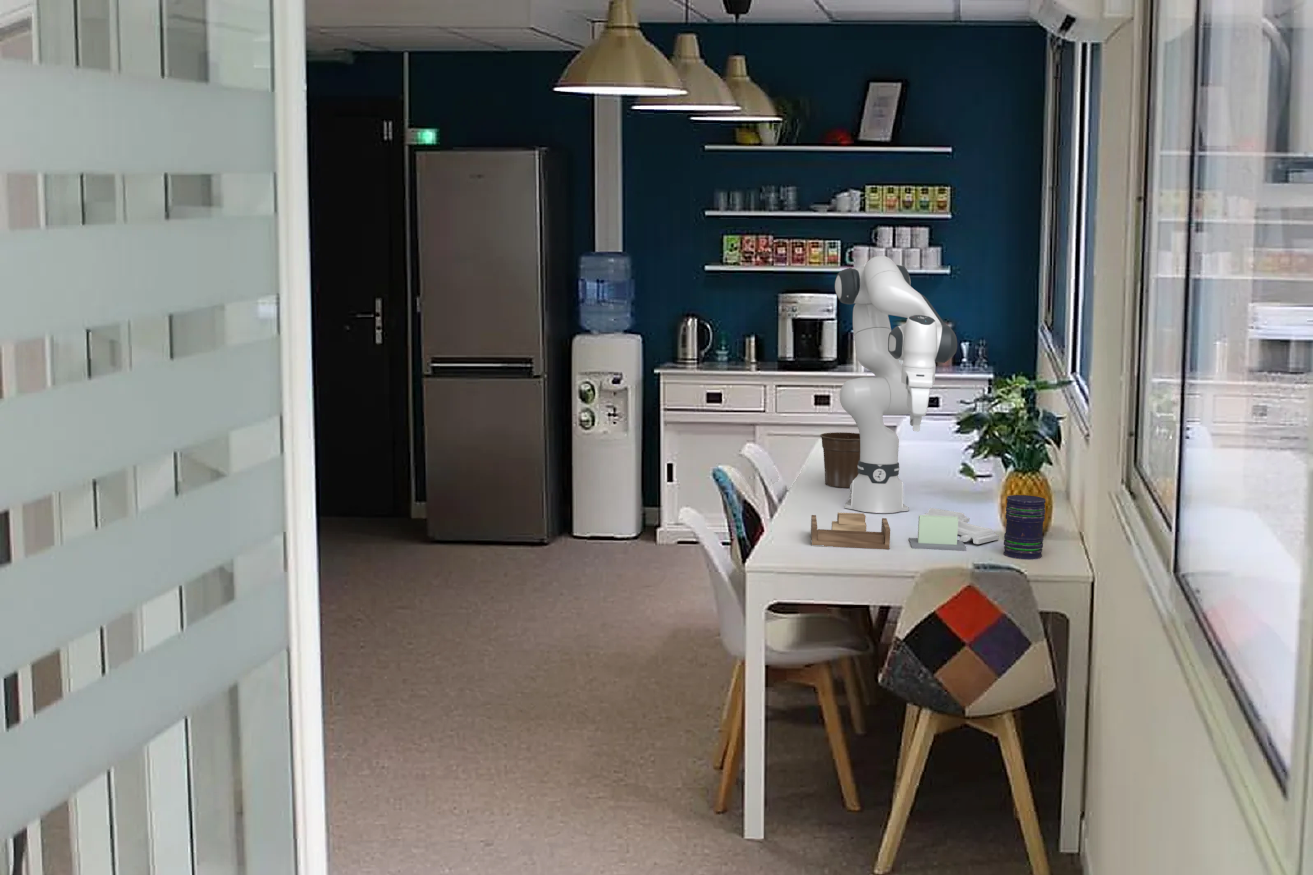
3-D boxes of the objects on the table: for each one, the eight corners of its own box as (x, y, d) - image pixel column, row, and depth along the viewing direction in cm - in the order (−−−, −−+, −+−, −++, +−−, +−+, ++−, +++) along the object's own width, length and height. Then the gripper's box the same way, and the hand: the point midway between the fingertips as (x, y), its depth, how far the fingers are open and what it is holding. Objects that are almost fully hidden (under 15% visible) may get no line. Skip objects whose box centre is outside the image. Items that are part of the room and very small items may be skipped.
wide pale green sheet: (917, 541, 429) (918, 514, 428) (955, 542, 428) (957, 516, 427) (918, 542, 426) (919, 516, 425) (956, 544, 425) (958, 518, 425)
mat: (908, 539, 433) (908, 537, 433) (961, 542, 432) (961, 540, 432) (911, 548, 422) (912, 545, 422) (966, 550, 421) (966, 548, 421)
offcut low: (831, 531, 435) (831, 520, 435) (865, 532, 435) (865, 522, 434) (831, 534, 431) (832, 523, 431) (866, 535, 431) (866, 525, 430)
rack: (810, 533, 437) (811, 514, 436) (885, 537, 435) (886, 518, 435) (811, 545, 421) (812, 526, 420) (889, 549, 420) (890, 529, 419)
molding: (919, 517, 468) (920, 507, 468) (960, 517, 470) (961, 507, 469) (963, 544, 426) (964, 533, 426) (1008, 544, 428) (1009, 534, 427)
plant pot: (813, 487, 514) (815, 436, 511) (823, 479, 529) (825, 430, 527) (864, 491, 509) (866, 440, 507) (872, 483, 524) (875, 434, 522)
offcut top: (837, 521, 435) (837, 512, 434) (863, 522, 435) (863, 513, 434) (838, 524, 431) (839, 515, 430) (865, 525, 431) (865, 516, 430)
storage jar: (1003, 558, 413) (1006, 500, 411) (1002, 550, 423) (1005, 494, 421) (1043, 560, 412) (1047, 502, 409) (1041, 553, 421) (1045, 496, 419)
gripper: (903, 371, 443) (899, 421, 445) (909, 381, 422) (905, 433, 425) (926, 372, 442) (923, 422, 444) (933, 382, 422) (930, 434, 424)
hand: (914, 428), depth 434 cm, fingers open, 8 cm apart
